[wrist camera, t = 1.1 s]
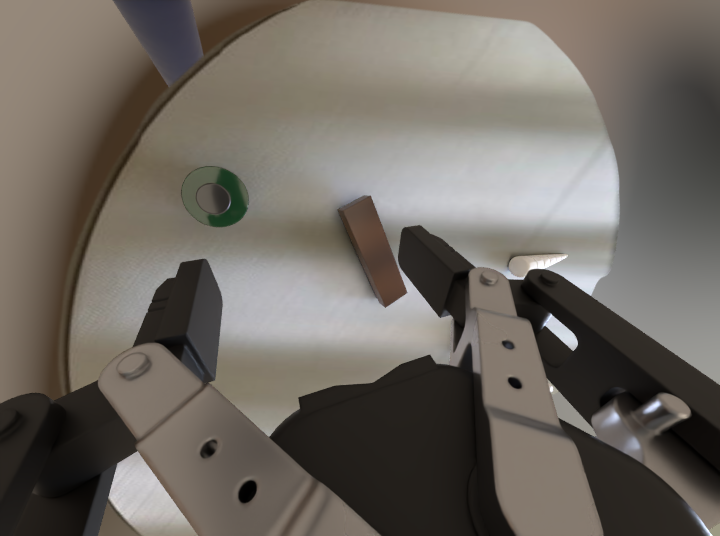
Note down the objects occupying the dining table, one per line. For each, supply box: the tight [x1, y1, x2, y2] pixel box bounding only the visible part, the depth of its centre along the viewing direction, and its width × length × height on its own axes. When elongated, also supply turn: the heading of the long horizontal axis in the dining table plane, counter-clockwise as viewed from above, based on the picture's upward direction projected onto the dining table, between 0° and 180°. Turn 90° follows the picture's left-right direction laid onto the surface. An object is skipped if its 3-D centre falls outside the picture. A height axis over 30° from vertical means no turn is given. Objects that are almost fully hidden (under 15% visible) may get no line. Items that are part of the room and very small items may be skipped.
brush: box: [338, 196, 407, 308], centre depth 41 cm, size 18×5×4 cm, turn 25°
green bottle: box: [181, 166, 249, 227], centre depth 26 cm, size 5×5×14 cm
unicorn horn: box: [509, 254, 568, 277], centre depth 63 cm, size 5×24×5 cm, turn 86°
